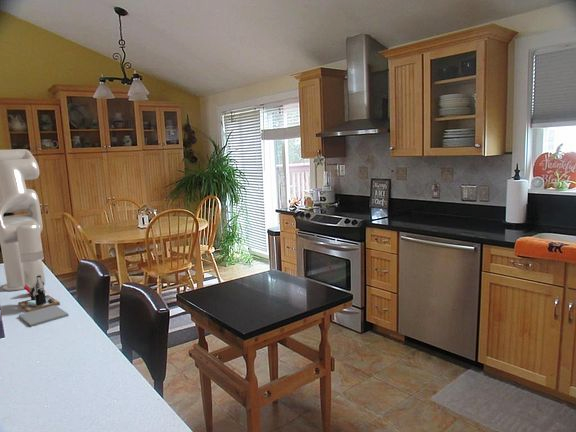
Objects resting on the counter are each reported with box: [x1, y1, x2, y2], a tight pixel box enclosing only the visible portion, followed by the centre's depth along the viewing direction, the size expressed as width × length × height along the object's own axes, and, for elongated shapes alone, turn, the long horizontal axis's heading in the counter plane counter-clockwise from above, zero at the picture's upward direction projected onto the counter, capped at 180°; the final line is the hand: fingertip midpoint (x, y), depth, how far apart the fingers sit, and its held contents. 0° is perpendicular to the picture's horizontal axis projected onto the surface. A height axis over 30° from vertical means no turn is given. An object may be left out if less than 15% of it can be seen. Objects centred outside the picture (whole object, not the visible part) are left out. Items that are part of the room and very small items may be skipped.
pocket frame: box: [17, 294, 61, 313], centre depth 166 cm, size 14×11×1 cm
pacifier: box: [27, 290, 49, 307], centre depth 166 cm, size 7×6×6 cm
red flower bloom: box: [23, 285, 46, 295], centre depth 179 cm, size 8×6×6 cm
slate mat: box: [18, 305, 69, 328], centre depth 153 cm, size 14×12×1 cm
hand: (38, 301), depth 165 cm, fingers closed on pacifier, 5 cm apart
